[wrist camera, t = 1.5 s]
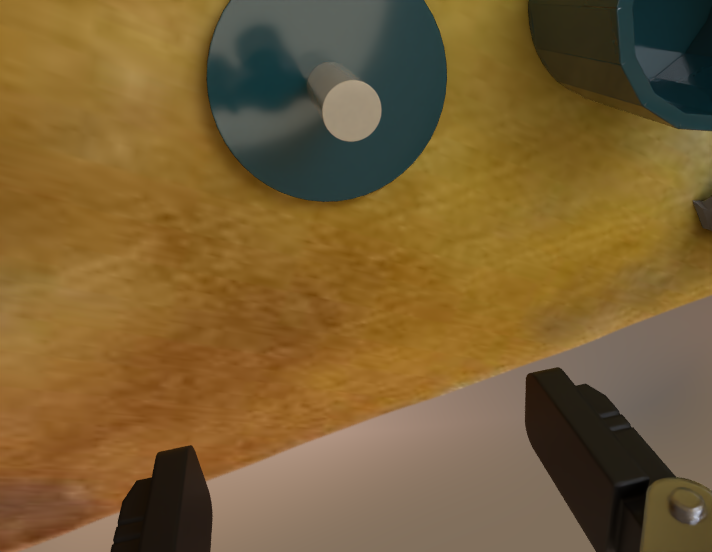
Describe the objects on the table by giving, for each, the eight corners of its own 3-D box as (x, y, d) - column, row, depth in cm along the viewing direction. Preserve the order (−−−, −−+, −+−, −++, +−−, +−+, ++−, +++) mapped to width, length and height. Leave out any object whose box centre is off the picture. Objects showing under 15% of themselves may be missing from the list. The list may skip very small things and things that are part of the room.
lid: (374, 228, 39) (405, 287, 31) (172, 139, 34) (150, 183, 27) (483, 28, 34) (552, 40, 27) (268, -106, 30) (275, -139, 22)
